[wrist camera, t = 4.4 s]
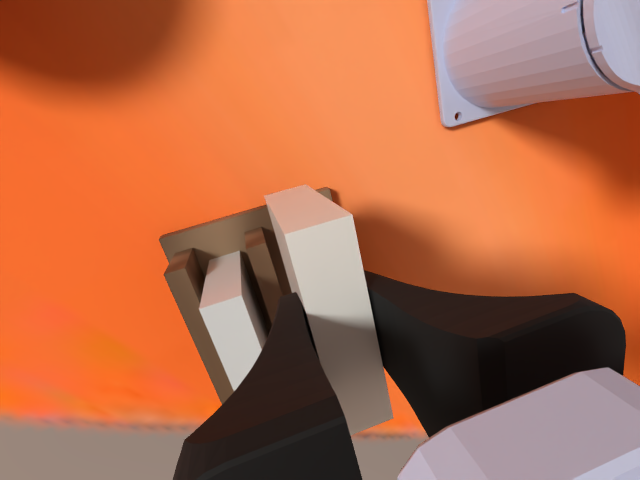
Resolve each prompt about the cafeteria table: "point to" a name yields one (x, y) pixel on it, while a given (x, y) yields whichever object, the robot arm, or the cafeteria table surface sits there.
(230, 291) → the racked plate
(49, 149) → the cafeteria table surface
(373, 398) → the white upright slab
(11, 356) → the cafeteria table surface
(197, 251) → the rack
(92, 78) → the cafeteria table surface
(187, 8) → the cafeteria table surface
